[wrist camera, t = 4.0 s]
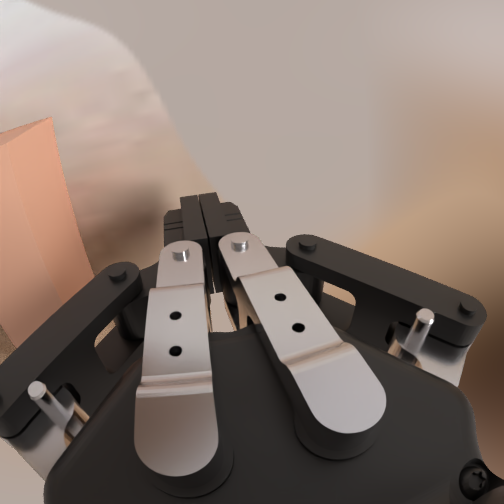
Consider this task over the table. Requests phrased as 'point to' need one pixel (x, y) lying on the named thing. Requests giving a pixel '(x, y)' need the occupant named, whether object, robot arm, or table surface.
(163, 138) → the table surface
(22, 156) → the t block
